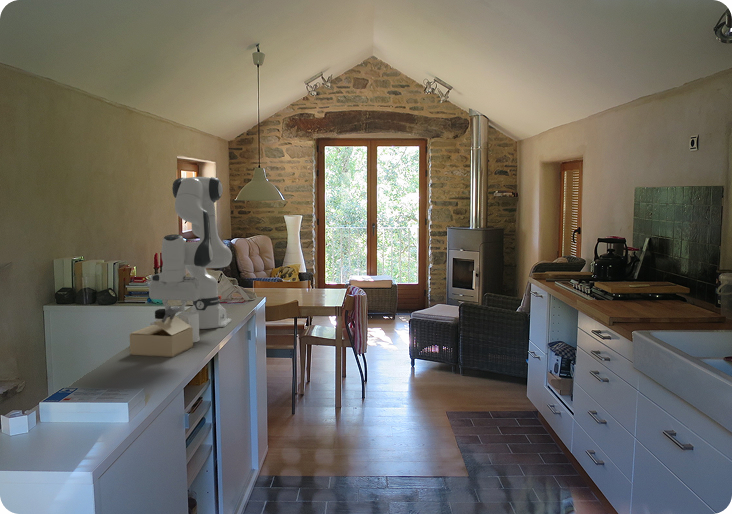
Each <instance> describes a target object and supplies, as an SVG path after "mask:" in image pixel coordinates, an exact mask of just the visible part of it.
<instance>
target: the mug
mask: <svg viewBox="0 0 732 514" xmlns="http://www.w3.org/2000/svg"><path fill="white" fill-rule="evenodd" d="M178 318H180V319H181V320H183V321H184V322H185V323H187V324H188V325H190V326H191V328H192V329H193V344H194V343H197V342H199V341H200V340H201V339H200V329H199V313H198V312H193V311H191V310H190V311H183V312H178Z"/></svg>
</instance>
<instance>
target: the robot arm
mask: <svg viewBox="0 0 732 514" xmlns="http://www.w3.org/2000/svg"><path fill="white" fill-rule="evenodd" d="M171 190H172V191H171V192H172V195H173V197H174V199H175V201H174V210H175V213H176V214H177V216H178V217H179V218H180V219H182V221H185V222H188V223H191V224H190V225H191V232H192V233H193V235H194V236H196V237H198V238H199V240H198V241H184V240H185V239H184V237H183V236H182V234H168V235H165V236H163V238H162V243H161V261H162V267H161V272H158V273H156V274H152V275H150V277H149V279H150V283H149V284H148V285H149V286H148V288H149V289H148V296H149V298H150V299H151V300H161V302H162V304H163V306H164V309H165V311H166V310H168V309H171V308H172V306H171V305H170V304H169V303H168V302H169V301H180V303H181V306H179V307H178V308H179V312H178V313H181V312H185V307H186V305H187V303H188V302H192V307H191V308H190V311H193V312H198V313H199V330H201V329H202V330H205V329H206V330H208V329H216V328H225V327H226V326H227V325H229V324H230V323H231V322H232V318H229V317H227V309H226V308H224V307H223V305H221V304H220V303H221V300H222V295H218V293H219V292H218V291H219V290H218V281H217V279H216V278H215V276H213V275H210V274H209V273H208V271H207V269H219V268H225V267H228V266H229V265H230V264H231V262H232V261H233V253H232V251H231V249H230V248H229V246H227V245H226V244H225V243H224V242H223V241H222V240H221V238H220V236H219V234H218V230H217V223H216V222H217V220H216V218H217V217H216V206H215V203H216V202H217V201H218V200H220V199H221V197H222V195H223V190H224V189H223V185H222V182H221V180H220V179H219V178H218V177H213V176H210V177H207V176H194V177H193V176H192V177H179V178H176V179H175V180H174V181H173V183H172V188H171ZM186 271H187V272H188V273H189V275H190V276H187V273H186Z"/></svg>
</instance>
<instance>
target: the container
mask: <svg viewBox="0 0 732 514" xmlns="http://www.w3.org/2000/svg"><path fill="white" fill-rule="evenodd" d="M164 316H165V308H158V309H157V310H155V311H154V321H152V322H150V324H149V326H151V325H156V324H155V323H154V322H157V321H160V320H162V319H163V318H164ZM170 316H171V315H169V316H168V317H170ZM168 317H167V318H168Z"/></svg>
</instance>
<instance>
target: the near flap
mask: <svg viewBox="0 0 732 514" xmlns="http://www.w3.org/2000/svg"><path fill="white" fill-rule="evenodd" d="M177 313H180V312H179V307H178V306H174V307H171V309H168V310H166V311H165V316H164V318H163V319H162V320H160V321H157V322H155V321H153V322H154V323H155V324H156V325H157V326H159V327H160V328H162V329H163V330H164V331H166V332H167V333H168V334H170V335H171V336H172V335H174V334H177V333H179V332H181V331H184V330H186V329H188V328H191V326H190V325H188V324H187V323H185V322H184V321H183V320H181V319H180V318H179V316H177V315H176V314H177ZM169 315H171V316H170V317H168V316H169ZM167 317H168V318H167Z"/></svg>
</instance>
